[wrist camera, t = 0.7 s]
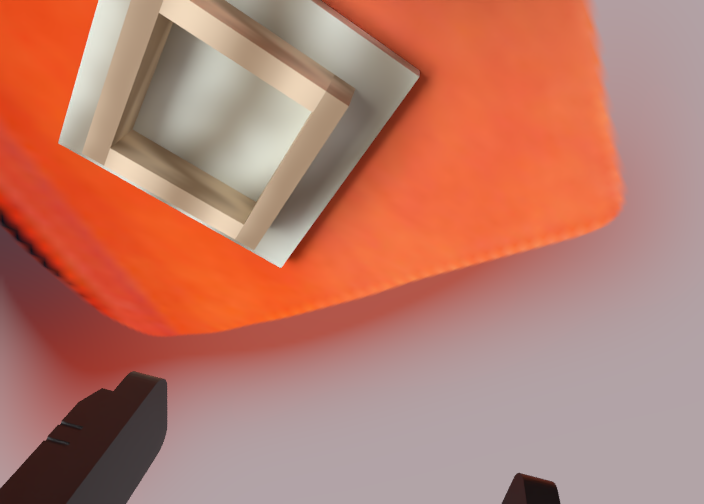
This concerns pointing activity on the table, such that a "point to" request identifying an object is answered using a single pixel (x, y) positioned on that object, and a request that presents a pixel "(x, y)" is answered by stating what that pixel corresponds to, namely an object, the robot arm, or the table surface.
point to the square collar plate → (233, 109)
